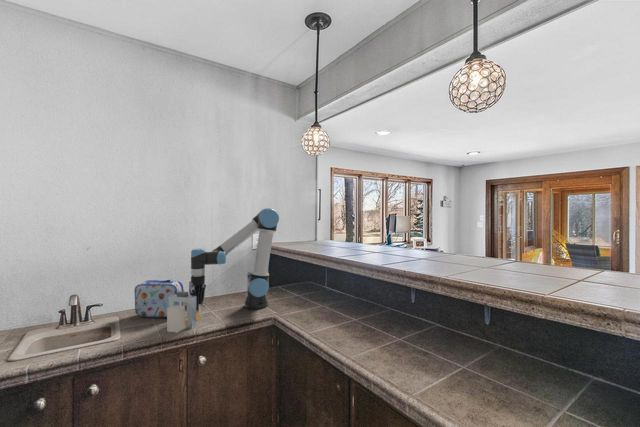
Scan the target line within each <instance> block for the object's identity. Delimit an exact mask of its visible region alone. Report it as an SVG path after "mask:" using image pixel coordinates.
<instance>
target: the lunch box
mask: <svg viewBox="0 0 640 427" xmlns="http://www.w3.org/2000/svg"><path fill="white" fill-rule="evenodd" d="M180 291H182V292H185V290H184V285H183V283H182V282H181V281H179V280H171V279H166V280H157V279H156V280H154V279H153V280H150V279H149V280H145V281H143V282H141V283H140V284H136V286H135V287H134V310H135V314H136V315H137V316H139V317H144V318H145V317H146V318H154V319H155V318H167V308H169V296H171V295H173V294H177V292H180ZM179 305H181V306H184V302H179Z"/></svg>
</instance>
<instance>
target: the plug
mask: <svg viewBox="0 0 640 427" xmlns="http://www.w3.org/2000/svg"><path fill="white" fill-rule="evenodd" d="M166 319H167V320H166V330H167V332H168V333H177V334H178V333H180V332H181V331H183V330H184V329H186V328H187V315H186V305H183V306H181V305H174V306H172V307H169V308H167V317H166ZM199 319H201V315H200V312H196V321H198V320H199Z"/></svg>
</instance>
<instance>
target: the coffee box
mask: <svg viewBox="0 0 640 427" xmlns="http://www.w3.org/2000/svg"><path fill="white" fill-rule="evenodd" d="M205 281H206V280H205ZM205 281H204V282H203V283H204V285H206V282H205ZM192 285H193V283H192V282H191V280H190V281H189V282H188V286H189V287H188V295H191V294H190V292H189V290H190V289H192ZM205 293H206V292H205ZM205 293H204V301H203V304H205V303H206V300H205V298H206V297H205V295H206V294H205Z"/></svg>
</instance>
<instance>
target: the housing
mask: <svg viewBox="0 0 640 427" xmlns="http://www.w3.org/2000/svg"><path fill="white" fill-rule="evenodd" d="M179 302H183V303H186V316H187V326H186V329H188V330H192V329H194V328H196V327H197V320H196V296H192V295H189V291H184V292H182V291H180V292H177V294H173V295H171V296H169V307H172V306H174V305H179Z"/></svg>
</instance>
